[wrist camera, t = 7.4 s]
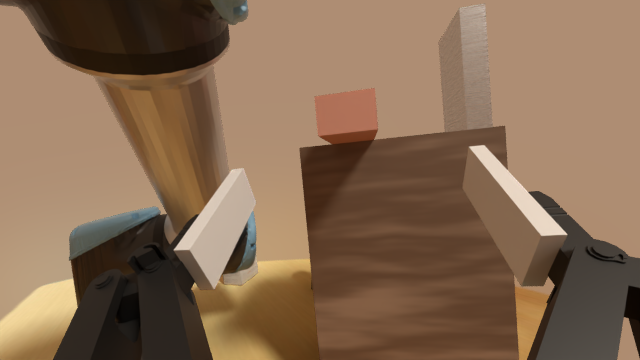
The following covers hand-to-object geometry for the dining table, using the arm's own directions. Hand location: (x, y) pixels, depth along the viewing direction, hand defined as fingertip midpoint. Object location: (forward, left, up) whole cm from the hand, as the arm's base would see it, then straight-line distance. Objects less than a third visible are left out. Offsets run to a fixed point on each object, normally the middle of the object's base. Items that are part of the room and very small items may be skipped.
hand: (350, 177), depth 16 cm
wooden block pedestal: (-10, +18, -27) cm, 34 cm away
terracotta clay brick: (-10, +12, +3) cm, 15 cm away
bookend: (-2, +23, +3) cm, 24 cm away
